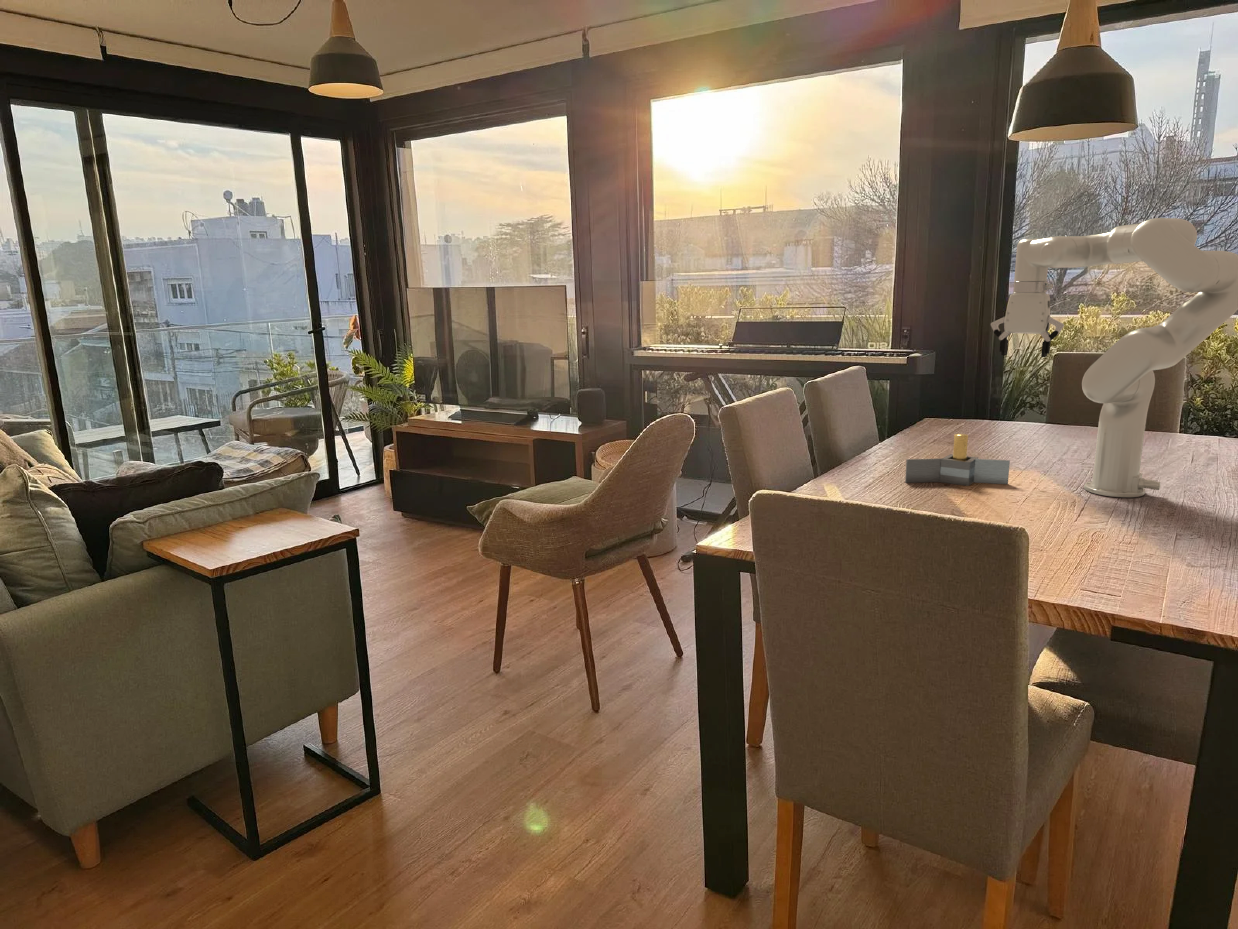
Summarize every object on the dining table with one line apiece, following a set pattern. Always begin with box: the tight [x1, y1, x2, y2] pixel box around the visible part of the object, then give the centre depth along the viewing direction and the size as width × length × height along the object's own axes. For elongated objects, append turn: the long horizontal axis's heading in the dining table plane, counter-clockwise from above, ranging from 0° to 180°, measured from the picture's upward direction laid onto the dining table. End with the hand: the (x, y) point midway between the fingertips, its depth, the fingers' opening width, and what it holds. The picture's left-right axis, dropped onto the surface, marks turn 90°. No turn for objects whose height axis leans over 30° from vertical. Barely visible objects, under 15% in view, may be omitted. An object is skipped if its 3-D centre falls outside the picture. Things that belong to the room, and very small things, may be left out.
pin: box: [952, 433, 969, 461], centre depth 212 cm, size 3×3×12 cm
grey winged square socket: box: [904, 453, 1011, 487], centre depth 211 cm, size 21×13×6 cm, turn 51°
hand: (1023, 355), depth 218 cm, fingers open, 9 cm apart
